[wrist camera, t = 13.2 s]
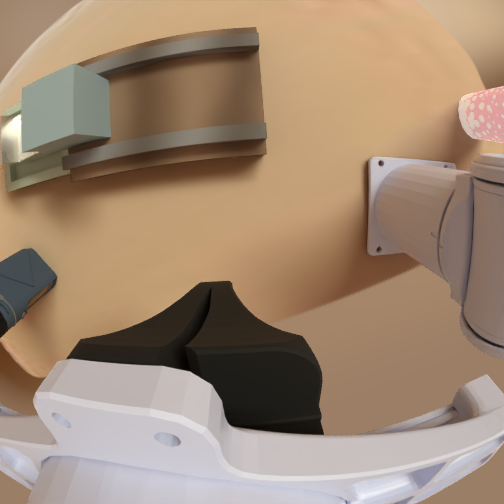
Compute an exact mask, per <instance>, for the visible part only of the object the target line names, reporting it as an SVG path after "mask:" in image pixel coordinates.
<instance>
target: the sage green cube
mask: <svg viewBox="0 0 504 504" xmlns="http://www.w3.org/2000/svg"><path fill="white" fill-rule="evenodd" d="M110 137H111V128H110V101H109V80H107V79H105V78H103V77H101V76H99V75H97V74H95V73H93V72H91V71H89V70H87V69H85V68H83V67H81V66H79V65H77V64H72V65H70V66H67V67H65V68H63V69H60V70H58V71H56V72H54V73H52V74H49V75H47V76H45V77H43V78H41V79H39V80H37V81H35V82H33V83H31V84H29V85H28V86H26V87H24V88H22V104H21V142H22V153H26V152H41V151H63V150H66V149H70V148H73V147H76V146H80V145H83V144H87V143H91V142H94V141H98V140H102V139H106V138H110Z"/></svg>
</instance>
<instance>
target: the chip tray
mask: <svg viewBox="0 0 504 504" xmlns="http://www.w3.org/2000/svg"><path fill="white" fill-rule="evenodd" d="M21 104H22V101H21V102H19V103H17V104H15V105H13V106H12V107H10V108H8V109H6V110H5V111H3V116H11V115H19V114H21ZM67 155H68V149H66V150H63V151H57V152H54V153H52V154H49V155H47V156H44V157H42V158H38V159H36V160H33V161H31V162H29V163H27V164H24V165H19V166H14V167H9V168H5V177H6V187H7V192H10V191H14V190H17V189H20V188H23V187H26V186H30V185H33V184H36V183H39V182H43V181H46V180H50V179H53V178H57V177H60V176H64V175H68V174H70V169H69V170H63V168H62V157H63V156H67Z"/></svg>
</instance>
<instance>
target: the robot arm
mask: <svg viewBox="0 0 504 504" xmlns="http://www.w3.org/2000/svg"><path fill="white" fill-rule="evenodd" d="M379 161H381V162H382V165H381V166H379V164H378V163H379ZM444 166H445V168H444ZM470 171H471V172H469V171H463V170H457V168H456V165H455V164H454V163H449V162H440V161H430V160H419V159H405V158H389V157H371V158H370V159H369V161H368V174H369V209H368V239H367V252H368V254H370V255H371V256H377V255H387V254H397V253H406V254H407V255H409V256H410V257H412V258H413V259H415V260H416V261H418V262H419V263H421V264H422V265H423V266H425V267H426V268H428V269H429V270H431V271H432V272H434V273H435V274H436V275H438V276H439V277H441V278H442V279H443V280H445V281H446V282H447V283H449V285H450V287H451V298H452V299H453V300H455V301H456V302H457V303H458V304H459V305H461V306H462V308H461V313H460V326H461V330H462V332H463V334H464V335H465V337H466V338H467V339H468V341H469V342H470V343H472V344H473V345H474V346H475V347H476V348H477V349H479V350H480V351H482V352H483V353H485V354H487V355H490V356H492V357H495V358H499V359H504V154H496V153H482V154H479V155H478V156H477V157H476V159H475V161H472V162H471V163H470ZM378 247H380V249H379V251H376V250H377V248H378ZM321 388H322V372H321V369H320V366H319V363H318V361H317V359H316V357H315V355H314V353H313V352H312V350H311V348H310V347H309V345H308V344H307V342H306V341H305V339H304V338H303V337H302V336H300V335H296V334H292V333H288V332H285V331H282V330H279V329H277V328H274V327H272V326H270V325H268V324H266V323H264V322H263V321H261V320H259V319H258V318H257V317H255V316H254V315H253V314H252V313H251V312H250V311H249V310H248V309H247V308H246V307H245V306H244V305H243V304H242V302H241V301H240V299H239V298H238V297H237V295H236V293H235V291H234V289H233V287H232V283H231V282H230V281H218V282H200V283H199V284H198V285H196V286H195V287H194V288H193V289H191V290H190V291H189V292H188V293H187V294H185V295H184V296H183V297H182V298H181V299H179V300H178V301H177V302H175V303H174V304H172V305H171V306H170V307H168V308H167V309H165V310H164V311H162V312H161V313H159V314H157V315H155V316H154V317H152V318H150V319H148V320H146V321H144V322H141V323H139V324H137V325H134V326H132V327H129V328H127V329H124V330H121V331H117V332H114V333H110V334H106V335H102V336H96V337H91V338H85V339H80V341H79V342H78V344H77V345H76V346H75V348H74V349H73V350H72V352H71V353H70V355H69V356H68V357H67V359H66V360H61V361H57V363H56V364H55V366H54V367H53V368H52V370H51V371H50V372H49V374H48V375H47V377H46V378H45V380H44V381H43V382H42V384H41V385H40V387H39V388H38V390H37V391H36V393H35V396H34V399H33V403H34V406H35V408H36V410H37V412H38V415H39V416H26V415H23V414H21V413H18V412H16V411H14V410H11V409H9V408H6V407H4V406H2V405H1V403H0V470H1V471H2V472H4V473H5V474H7V475H8V476H10V477H11V478H13V479H14V480H16V481H18V482H19V483H21V484H22V485H24V486H26V487H27V488H29V489H30V490H32V492H31V494H30V497H29V499H28V502H27V504H416V503H418V502H420V501H422V500H424V499H426V498H428V497H430V496H432V495H433V494H435V493H437V492H439V491H441V490H442V489H444V488H446V487H447V486H449V485H451V484H453V483H455V482H456V481H458V480H459V479H461V478H463V477H464V476H466V475H467V474H469V473H471V472H473V471H474V470H476V469H477V468H479V467H480V466H482V465H483V464H485V463H486V462H487V461H488V460H489V459H490V458H491V457H492V456H493V455H494V454H495V452H496V451H497V450H498V449H499V448H500V447H501V446H502V444H503V443H504V394H503V393H502V392H501V390H500V389H499V388H498V387H497V386H496V385H495V384H494V382H493V381H492V380H491V379H490V378H489V377H488V376H487V374H486V375H483V376H481V377H479V378H477V379H475V380H472V381H470V382H468V383H466V384H465V385H463V386H462V387H461V388H460V389H459V390H458V392H457V393H456V395H455V397H454V399H453V402H452V403H451V404H449V405H447V406H444V407H442V408H439V409H437V410H434V411H432V412H429V413H426V414H424V415H421V416H418V417H416V418H412V419H410V420H407V421H404V422H400V423H397V424H394V425H391V426H387V427H384V428H380V429H377V430H373V431H369V432H365V433H361V434H357V435H324V433H323V429H322V425H321V421H320V420H321V412H320V408H319V401H320V394H321Z"/></svg>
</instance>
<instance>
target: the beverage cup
mask: <svg viewBox="0 0 504 504" xmlns="http://www.w3.org/2000/svg"><path fill="white" fill-rule="evenodd" d="M458 112H459V119H460V122H461V124H462V127H463V129H464V130H465V132H466V133H467V134H468V135H469V136H470V137H471V138H473V139H480V140H487V141H494V142H500V143H504V86H502V87H497V88H493V89H488V90H484V91H480V92H475V93H471V94H468V95H465V96H462V98H461V100H460V101H459V107H458Z"/></svg>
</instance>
